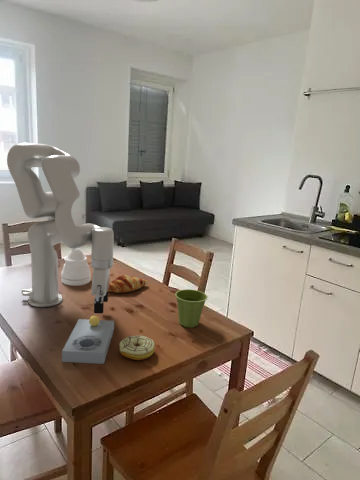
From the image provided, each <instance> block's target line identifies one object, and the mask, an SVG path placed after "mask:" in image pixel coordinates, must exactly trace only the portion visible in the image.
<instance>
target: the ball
mask: <svg viewBox="0 0 360 480" xmlns="http://www.w3.org/2000/svg"><path fill="white" fill-rule="evenodd" d="M88 320H89V323H90V325H92V326H97V325H98V324H99V322H100V320H101V319H100V317H99V316H97V315H92V316H90V317H89V319H88Z"/></svg>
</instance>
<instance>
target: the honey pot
mask: <svg viewBox="0 0 360 480" xmlns="http://www.w3.org/2000/svg"><path fill="white" fill-rule="evenodd" d="M63 260H64V261H65V262H64V264H63V266H62V270H61V273H60V274H61V275H60V277H61V280H60V281H61V283H63V284H64V285H67V286H76V287H77V286H84V285H87V284H89V283H90V282H91V281H92V279H91V278H92V277H91V275H92V274H91V270H90V266H89V263H88V261H87V260H88V257H87V256H85V254H84V252H83V251H82V249H80V248H76V249H72V248H71V250H70V252H69V253H68V255H65V256H64V258H63Z"/></svg>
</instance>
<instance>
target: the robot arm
mask: <svg viewBox="0 0 360 480" xmlns="http://www.w3.org/2000/svg"><path fill="white" fill-rule="evenodd" d="M6 165H7V168H8V171H9V173H10V176H11V177H12V179H13V182H14V184H15V186H16V190H17V192H18V193H17V194H18V197H19V200H20V203H21V206H22V208H23V212H24V213H25V215H26V217H28V218H29V219H32V220H37V219H42V218H47V220H43V221H38V222H35V223H33V224H32V225H31V226H30V227H29V228H28V230H27V240H28V244H29V249H30V262H31V264H30V265H31V288H29V289H28V288H22V289H21V294H22V296H23V297H28V298H27V303H28V304H29V305H30V306H33V307H36V308H37V307H38V308H46V307H47V308H48V307H54V306H56V305H58V304H60V303H62V302H63V296H62V294H60V293H59V257H58V253H57V251H56V248H55V247H54V246H55V245H57V244H61V243H63V244H64V245H65V246H66V247H68V248H69V249H71V250H72V249H76V248H79V249H80V248H83V247H86V246H90V245H91V250H90V251H91V252H90V253H91V254H90V256H91V258H90V259H91V260H90V261H91V263H90V267H91V268H92V269H93V270H92V277H91V278H92V279H91V296H94V299H93V300H94V301H93V313H94V314H104V306H105V305H104V303H108V301H109V291H108V288H109V284H110V276H111V275H110V273H111V271H110V270H111V269H112V268H113V267H114V244H115V243H114V242H115V241H114V240H115V238H114V237H115V236H114V234H115V232H114V230H113V228H111V227H106V226H99V225H97V224H95V223H90V222H89V223H83V224H78V225H76V224H75V221H74V220H73V219H74V218H73V215H72V209H73V208H72V207H73V205H74V204H75V202H76V201H77V200H78V199H79V198H80V196H81V193H80V191H79V189H78V186H77V184H76V182H75V178H77V177H78V176H79V175H80V172H81V166H80V163H79V161H78V160H77V158H76V157H74V156H73V155H71V154H70V153H67V152H66V151H64V150H61V149H59V148H57V147H56V146H53V145H50V144H45V143H35V142H21V143H16V144H14V145H12V146H11V147H10V149H9V150H8V153H7V157H6ZM32 168H42V171H43V174H44V176H45V178H46V181H47V183H48V185H49V187H50V188H49V189H51V191H44V188H43V186H42V183H41V179H40V178H39V176H38V174H36V173H35V172H34V171H33V170H32Z"/></svg>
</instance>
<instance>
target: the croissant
mask: <svg viewBox="0 0 360 480" xmlns="http://www.w3.org/2000/svg"><path fill="white" fill-rule="evenodd" d="M147 284H148V280H147V279H146V280H145V279H144V278H139V277H137V276H134V275H133V276H131V277H130V276H129V275H128V274H123V275H118V276H117V277H116V278H115V279H113V280H112V281H111V283H110V282H109V288H108V291H107V292H108V293H109V292H111V293H114V294H115V293H117V294H119V293H128V292H134V291H136V290H138V289H141V288H143V287H145V286H147Z"/></svg>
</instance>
